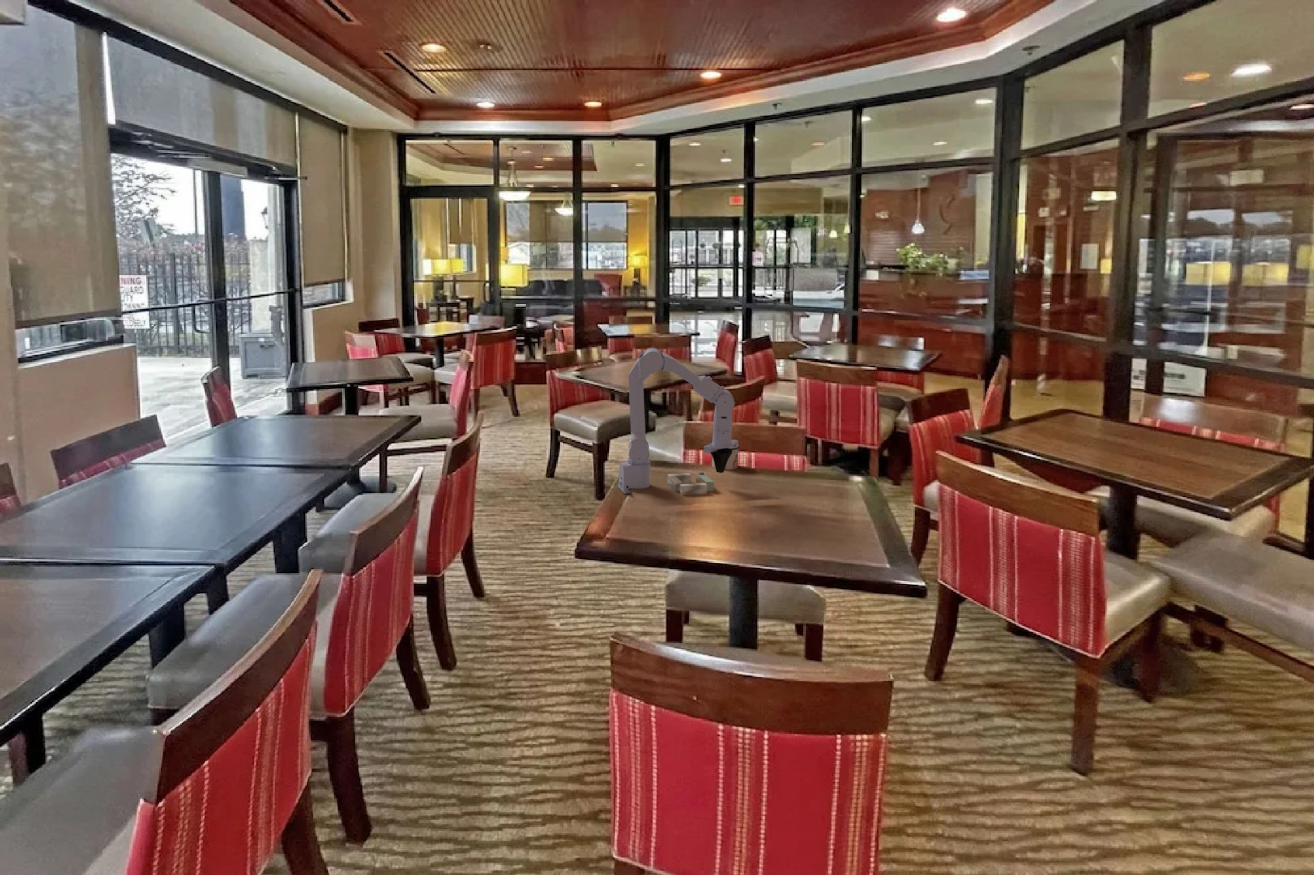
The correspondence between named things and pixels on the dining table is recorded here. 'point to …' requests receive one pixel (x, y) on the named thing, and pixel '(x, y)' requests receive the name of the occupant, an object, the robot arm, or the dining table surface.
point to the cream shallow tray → (680, 484)
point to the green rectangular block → (706, 481)
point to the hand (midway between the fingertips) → (719, 472)
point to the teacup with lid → (730, 459)
